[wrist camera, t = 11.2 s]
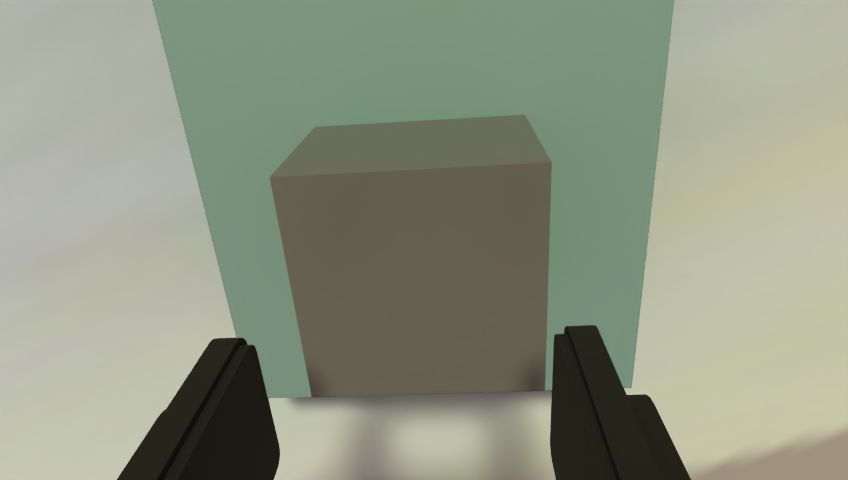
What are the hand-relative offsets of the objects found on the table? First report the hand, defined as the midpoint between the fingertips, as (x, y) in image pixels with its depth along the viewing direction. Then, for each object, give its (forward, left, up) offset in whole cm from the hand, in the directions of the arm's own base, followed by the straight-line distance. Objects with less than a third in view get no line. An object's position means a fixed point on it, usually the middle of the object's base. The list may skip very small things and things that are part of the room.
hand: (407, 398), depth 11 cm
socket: (0, 0, -14) cm, 14 cm away
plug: (0, 0, -13) cm, 13 cm away
